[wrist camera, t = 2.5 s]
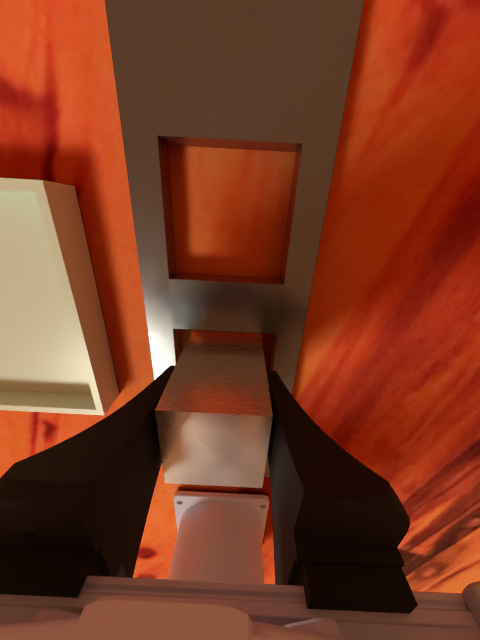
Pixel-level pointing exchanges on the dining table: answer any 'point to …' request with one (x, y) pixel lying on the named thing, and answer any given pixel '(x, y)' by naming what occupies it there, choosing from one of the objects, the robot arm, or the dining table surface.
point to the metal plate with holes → (230, 145)
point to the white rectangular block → (216, 412)
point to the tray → (49, 305)
